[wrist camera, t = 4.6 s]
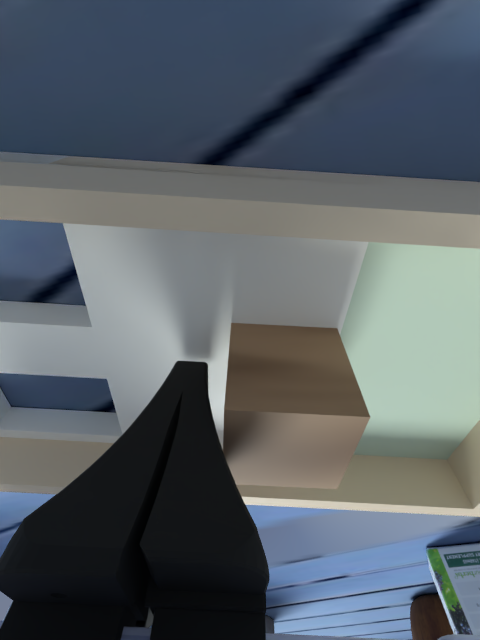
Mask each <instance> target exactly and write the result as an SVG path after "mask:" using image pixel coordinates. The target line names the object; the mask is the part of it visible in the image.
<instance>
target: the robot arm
mask: <svg viewBox="0 0 480 640" xmlns="http://www.w3.org/2000/svg"><path fill="white" fill-rule="evenodd" d="M268 583H269V569H268V564H267V560H266V556H265V553H264V550H263V546H262V543H261V540H260V538H259V534H258V531H257V527H256V525H255V523H254V521H253V519H252V517H251V515H250V513H249V511H248V509H247V507H246V505H245V503H244V501H243V499H242V497H241V495H240V492H239V490H238V488H237V486H236V483H235V481H234V478H233V476H232V474H231V471H230V469H229V466H228V464H227V461H226V458H225V456H224V453H223V450H222V447H221V444H220V441H219V438H218V434H217V431H216V427H215V423H214V419H213V415H212V411H211V406H210V401H209V395H208V364H207V363H206V362H196V361H177V362H176V363H175V365H174V366H173V368H172V370H171V372H170V373H169V375H168V376H167V378H166V380H165V381H164V383H163V384H162V386H161V387H160V388H159V390H158V391H157V393H156V394H155V395H154V397H153V398H152V400H151V401H150V402H149V404H148V405H147V406H146V407H145V409H144V410H143V411H142V412H141V414H140V415H139V416H138V417H137V418H136V420H135V421H134V422H133V423H132V424H131V426H130V427H129V428H128V429H127V430H126V431H125V432H124V433H123V434H122V435H121V436H120V438H119V439H118V440H117V441H116V442H115V443H114V444H113V445H112V446H111V447H110V448H109V449H108V450H107V451H106V452H105V453H104V454H103V455H102V456H101V457H100V458H98V459H97V460H96V461H95V462H94V463H93V464H92V465H91V466H90V467H89V468H87V469H86V470H85V471H84V472H83V473H82V474H80V475H79V476H78V477H77V478H76V479H75V480H73V481H72V482H71V483H70V484H69V485H68V486H66V487H65V488H64V489H63V490H61V491H60V492H59V493H58V494H56V495H55V496H54V497H52V498H51V499H50V500H48V501H47V502H46V503H44V504H43V505H42V506H40V507H39V508H38V509H36V510H35V511H34V512H33V513H31V514H30V515H28V516H27V517H26V518H25V519H24V520H23V522H22V523H21V525H20V526H19V528H18V529H17V531H16V532H15V534H14V535H13V537H12V538H11V540H10V542H9V543H8V545H7V547H6V549H5V551H4V553H3V554H2V556H1V558H0V591H1V592H2V593H4V594H5V595H7V596H8V597H9V598H11V599H12V600H13V601H12V603H11V605H10V607H9V609H8V612H7V614H6V616H5V618H4V620H3V621H0V640H396V639H375V638H354V637H333V636H312V635H292V634H271V633H266V627H265V613H266V589H267V586H268ZM151 625H152V628H149V627H150V626H151ZM438 640H480V635H465V634H452V635H446V636H442V637H440V638H439V639H438Z"/></svg>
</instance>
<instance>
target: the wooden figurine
mask: <svg viewBox="0 0 480 640" xmlns="http://www.w3.org/2000/svg"><path fill="white" fill-rule="evenodd" d="M410 621H411V631H412V637H413V640H438V639H439V638H440V637H442V636H446V635H452V634H454V633H453V630H452V628H451V625H450V622H449V620H448V617H447V614H446V612H445V609H444V606H443V604H442V601H441V598H440V596H439V595H436V594H429V595H423V596H420V597H418V598H416V599H415V600H414V601H413V602H412V605H411V608H410Z"/></svg>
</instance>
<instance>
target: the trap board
mask: <svg viewBox="0 0 480 640" xmlns="http://www.w3.org/2000/svg"><path fill="white" fill-rule="evenodd" d="M0 219H3V220H19V221H35V222H51V223H63V226H64V229H65V233H66V236H67V240H68V243H69V247H70V251H71V254H72V258H73V261H74V265H75V268H76V272H77V275H78V279H79V282H80V286H81V289H82V293H83V296H84V300H85V304H86V306H83V305H66V304H49V303H32V302H15V301H0V373H10V374H28V375H46V376H63V377H81V378H99V379H107V381H108V385H109V388H110V392H111V395H112V399H113V402H114V406H115V410H116V413H111V412H93V411H75V410H57V409H39V408H21V407H11V406H10V404H9V402H8V401H7V399H6V397H5V395H4V394H3V392H2V390H1V389H0V491H2V492H21V493H39V494H58V493H59V492H60V491H61V490H63V489H64V488H65V487H66V486H68V485H69V484H70V483H71V482H72V481H73V480H75V479H76V478H77V477H78V476H79V475H80V474H82V473H83V472H84V471H85V470H86V469H87V468H89V467H90V466H91V465H92V464H93V463H94V462H95V461H96V460H97V459H98V458H100V457H101V456H102V455H103V454H104V453H105V452H106V451H107V450H108V449H109V448H110V447H111V446H112V445H113V444H114V443H115V442H116V441H117V440H118V439H119V438H120V436H121V435H122V434H123V433H124V432H125V431H126V430H127V429H128V428H129V427H130V426H131V424H132V423H133V422H134V421H135V420H136V418H137V417H138V416H139V415H140V414H141V412H142V411H143V410H144V409H145V407H146V406H147V405H148V404H149V402H150V401H151V400H152V398H153V397H154V395H155V394H156V393H157V391H158V390H159V388H160V387H161V386H162V384H163V383H164V381H165V380H166V378H167V376H168V375H169V373H170V372H171V370H172V368H173V366H174V365H175V363H176V362H177V361H196V362H206V363H207V364H208V395H209V401H210V406H211V411H212V415H213V419H214V423H215V427H216V431H217V434H218V438H219V441H220V444H221V447H222V450H223V432H224V404H225V392H226V380H227V367H228V355H229V343H230V331H231V323H245V324H264V325H284V326H303V327H322V328H337V329H338V332H339V334H340V337H341V340H342V342H343V345H344V348H345V350H346V353H347V356H348V358H349V361H350V364H351V366H352V369H353V372H354V374H355V377H356V380H357V382H358V385H359V388H360V390H361V393H362V396H363V398H364V401H365V404H366V407H367V409H368V412H369V415H370V419H369V421H368V424H367V426H366V428H365V430H364V432H363V434H362V437H361V439H360V441H359V443H358V445H357V447H356V450H355V452H354V454H353V456H352V458H351V460H350V463H349V465H348V467H347V469H346V471H345V473H344V476H343V478H342V480H341V482H340V484H339V486H338V489H320V488H300V487H279V486H259V485H238V484H236V486H237V488H238V490H239V492H240V495H241V497H242V499H243V501H244V503H245V504H247V505H266V506H285V507H304V508H323V509H342V510H361V511H381V512H399V513H418V514H437V515H457V516H474V517H480V182H471V181H456V180H440V179H424V178H408V177H393V176H377V175H361V174H345V173H330V172H314V171H298V170H282V169H267V168H251V167H235V166H219V165H204V164H188V163H172V162H156V161H141V160H125V159H109V158H93V157H78V156H62V155H46V154H30V153H15V152H0Z"/></svg>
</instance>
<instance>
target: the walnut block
mask: <svg viewBox="0 0 480 640" xmlns="http://www.w3.org/2000/svg"><path fill="white" fill-rule="evenodd" d="M369 419H370V415H369V412H368V409H367V407H366V404H365V401H364V398H363V396H362V393H361V390H360V388H359V385H358V382H357V380H356V377H355V374H354V372H353V369H352V366H351V364H350V361H349V358H348V356H347V353H346V350H345V348H344V345H343V342H342V340H341V337H340V334H339V332H338V329H337V328H322V327H303V326H284V325H264V324H245V323H231V331H230V343H229V355H228V367H227V380H226V392H225V404H224V432H223V453H224V456H225V458H226V461H227V464H228V466H229V469H230V471H231V474H232V476H233V478H234V481H235V483H236V484H238V485H259V486H279V487H300V488H320V489H338V486H339V484H340V482H341V480H342V478H343V476H344V473H345V471H346V469H347V467H348V465H349V463H350V460H351V458H352V456H353V454H354V452H355V450H356V447H357V445H358V443H359V441H360V439H361V437H362V434H363V432H364V430H365V428H366V426H367V424H368V421H369Z"/></svg>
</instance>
